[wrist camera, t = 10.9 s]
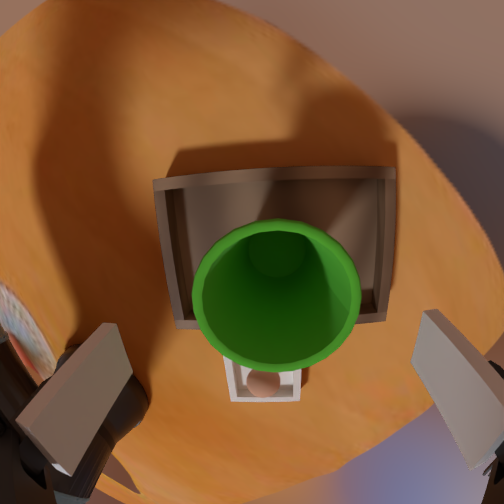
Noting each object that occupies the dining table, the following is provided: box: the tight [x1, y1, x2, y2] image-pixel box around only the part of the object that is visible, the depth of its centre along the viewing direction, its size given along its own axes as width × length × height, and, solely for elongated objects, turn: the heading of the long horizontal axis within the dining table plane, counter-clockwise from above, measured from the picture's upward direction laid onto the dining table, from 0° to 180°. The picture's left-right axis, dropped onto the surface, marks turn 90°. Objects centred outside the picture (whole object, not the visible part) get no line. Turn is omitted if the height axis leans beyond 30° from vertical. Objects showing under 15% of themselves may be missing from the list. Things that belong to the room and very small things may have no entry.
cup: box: [191, 218, 362, 372], centre depth 19 cm, size 9×9×11 cm
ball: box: [246, 369, 280, 398], centre depth 27 cm, size 4×4×4 cm
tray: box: [153, 166, 396, 329], centre depth 24 cm, size 20×14×3 cm
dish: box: [223, 356, 301, 402], centre depth 29 cm, size 8×8×2 cm
